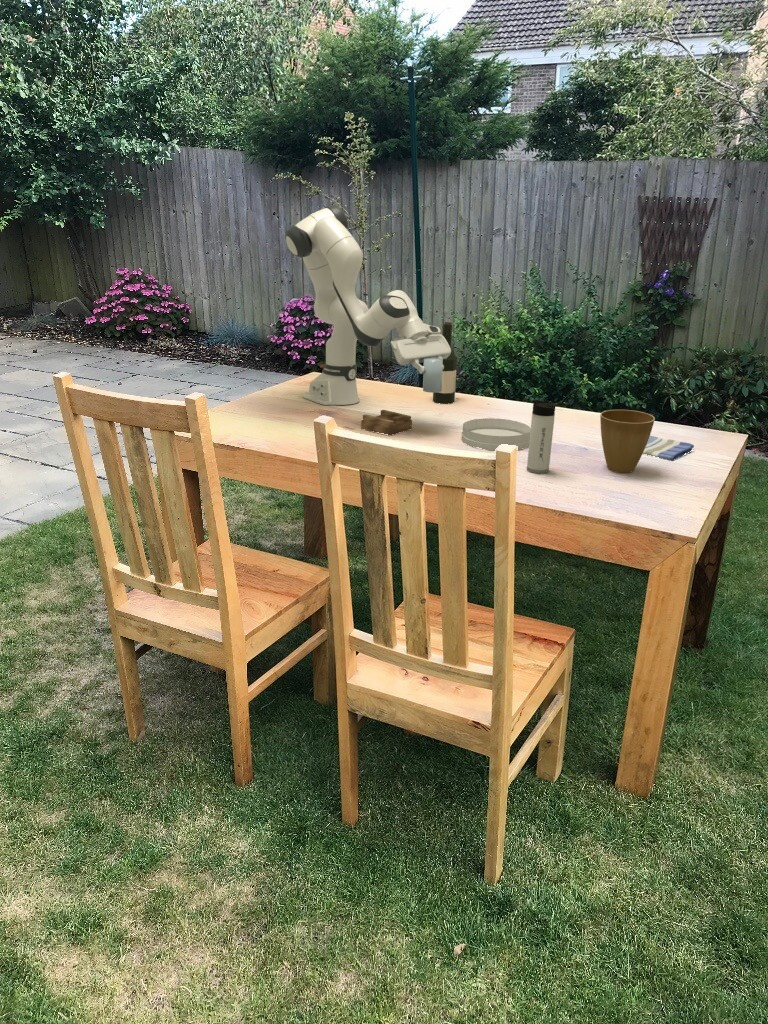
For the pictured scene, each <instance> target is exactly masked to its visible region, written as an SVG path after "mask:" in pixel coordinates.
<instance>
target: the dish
mask: <svg viewBox="0 0 768 1024" xmlns="http://www.w3.org/2000/svg"><path fill="white" fill-rule="evenodd" d="M530 430H531V426H530V425H527V424H525V423H523V422H521V421H517V420H511V419H506V418H504V419H503V418H493V417H492V418H490V417H489V418H488V417H487V418H476V419H475V418H474V419H470V420H467V421H465V422H463V423H462V431H461V435H460V436H461V438H460V440H462V441H461V442H462V443H463V444H464V443H466V444H467V445H466V444H465V445H466V446H468V445H469V446H468V447H471V446H474V447H479V448H482V449H481V450H483V449H485V450H484V451H491V452H496V451H495V449H496V448H497V447H498V446H499V445H501V444H508V445H516V446H518V449H521V450H523V449H522V448H524V449H527V448H529V441H530ZM474 447H473V448H474Z"/></svg>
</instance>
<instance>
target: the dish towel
mask: <svg viewBox="0 0 768 1024" xmlns="http://www.w3.org/2000/svg"><path fill="white" fill-rule="evenodd" d="M694 447H695V446H694V444H692V443H691V442H686V441H680V440H674V439H671V438H669V439H667V438H665V439H664V438H660V437H658V436H655V435H654V436H653V435H650V437H649V439H648V442H647V445H646V447H645V449H644V452H643V454H642V455H644V454H647V455H646V456H648V455H651V456H650V457H653V456H655V457H654V458H657V457H659V458H658V459H662V458H663V460H666V459H667V461H674V459H675V460H677V459H679V458H681V457H680V456H682V457H684V456H685V455H684V454H685V453H688V452H690V451H691V450H692V449H694ZM690 453H691V452H690ZM688 454H689V453H688ZM683 455H684V456H683ZM678 457H679V458H678ZM676 458H677V459H676Z"/></svg>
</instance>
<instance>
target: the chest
mask: <svg viewBox="0 0 768 1024" xmlns="http://www.w3.org/2000/svg"><path fill="white" fill-rule="evenodd" d="M360 422H361V425H360V427H361V428H360V429H361V430H363V429H365V430H364V431H367V430H370V431H369V432H371V431H374V432H373V433H375V432H379V433H384V434H388V435H391V436H393V435H392V434H394V435H396V433H397V434H400V433H399V432H401V433H404V432H407V431H409V430H410V429H411V430H413V420H412V416H411V415H408V414H403V413H400V412H395V411H391V410H386V409H382V410H380V415H379V414H378V415H376V416H373V415H370V414H363V415H362V420H361V421H360ZM403 431H404V432H403ZM379 433H378V434H379Z"/></svg>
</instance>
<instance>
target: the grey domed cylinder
mask: <svg viewBox="0 0 768 1024" xmlns="http://www.w3.org/2000/svg"><path fill="white" fill-rule="evenodd" d="M442 364H443V359H441V358H434V357H431V358H424V362H423V366H424V367H425V369H426V372H425V373H423V374H422V375H423V376H422V377H423V379H422V380H423V381H422V391H423V392H426V393H429V394H430V393H432V394H433V393H436V392H441V391H442Z"/></svg>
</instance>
